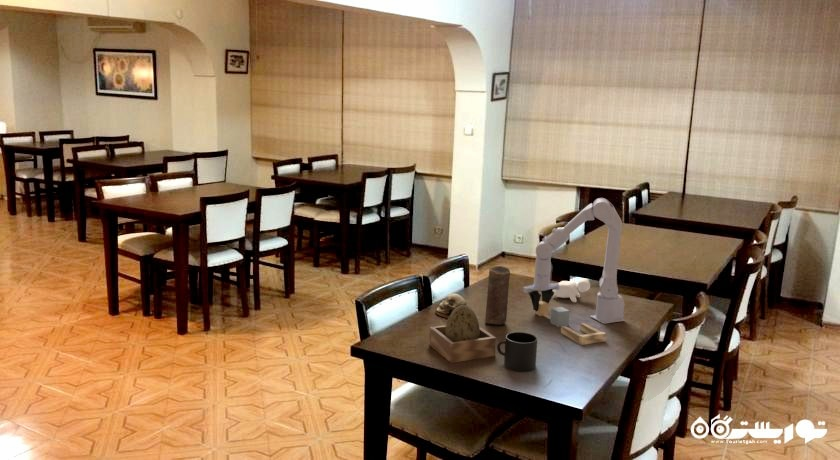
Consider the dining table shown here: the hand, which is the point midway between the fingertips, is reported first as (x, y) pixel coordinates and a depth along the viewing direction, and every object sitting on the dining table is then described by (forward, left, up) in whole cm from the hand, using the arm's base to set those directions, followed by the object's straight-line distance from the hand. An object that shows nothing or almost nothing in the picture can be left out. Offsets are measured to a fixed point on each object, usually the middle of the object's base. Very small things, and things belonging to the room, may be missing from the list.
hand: (539, 309), depth 259 cm
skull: (+31, -11, -2) cm, 33 cm away
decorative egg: (+44, +22, -2) cm, 49 cm away
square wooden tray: (+44, +22, -1) cm, 49 cm away
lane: (0, +25, -1) cm, 25 cm away
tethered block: (0, +7, -1) cm, 7 cm away
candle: (+21, +4, -2) cm, 21 cm away
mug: (+34, +38, -2) cm, 51 cm away
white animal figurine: (-22, -11, -2) cm, 24 cm away
